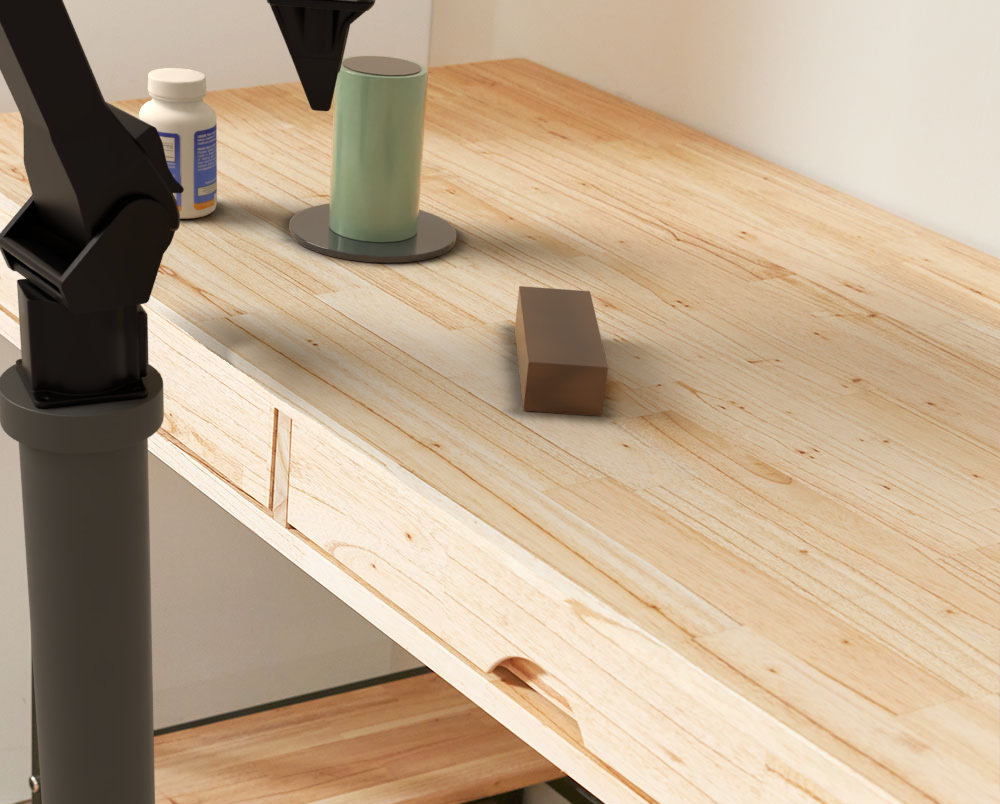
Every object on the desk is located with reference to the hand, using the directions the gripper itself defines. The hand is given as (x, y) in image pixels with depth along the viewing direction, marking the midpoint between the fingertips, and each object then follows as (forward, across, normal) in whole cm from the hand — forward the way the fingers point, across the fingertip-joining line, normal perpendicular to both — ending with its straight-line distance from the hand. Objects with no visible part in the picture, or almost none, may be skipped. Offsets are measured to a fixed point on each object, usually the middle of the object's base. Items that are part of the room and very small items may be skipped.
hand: (326, 90), depth 94 cm
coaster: (+13, +12, -3) cm, 18 cm away
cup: (+11, +12, +2) cm, 17 cm away
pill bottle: (+13, +14, +11) cm, 23 cm away
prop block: (+13, -10, -15) cm, 22 cm away
